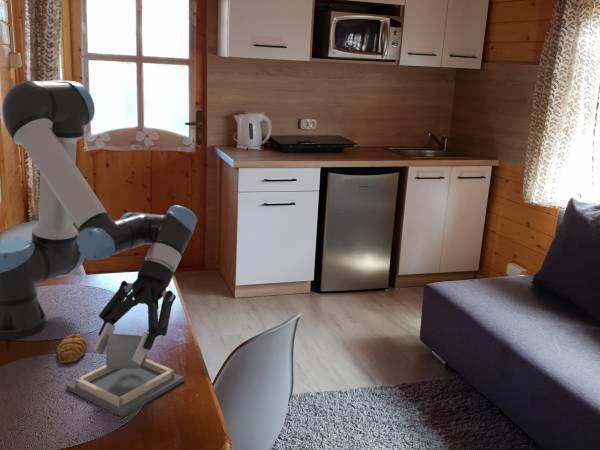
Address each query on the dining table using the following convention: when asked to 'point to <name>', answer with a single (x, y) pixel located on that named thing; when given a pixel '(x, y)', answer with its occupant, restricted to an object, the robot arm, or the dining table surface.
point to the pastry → (71, 348)
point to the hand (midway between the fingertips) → (116, 357)
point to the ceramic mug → (123, 352)
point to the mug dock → (125, 386)
